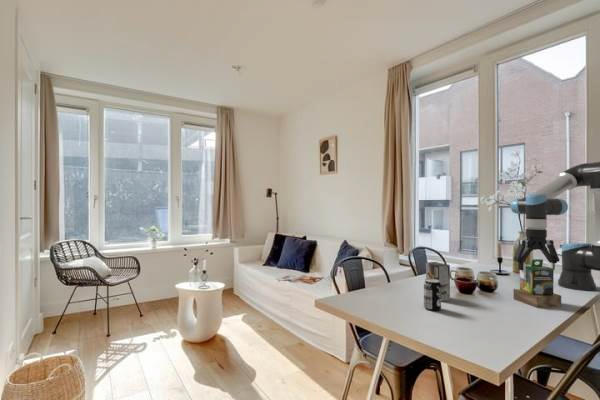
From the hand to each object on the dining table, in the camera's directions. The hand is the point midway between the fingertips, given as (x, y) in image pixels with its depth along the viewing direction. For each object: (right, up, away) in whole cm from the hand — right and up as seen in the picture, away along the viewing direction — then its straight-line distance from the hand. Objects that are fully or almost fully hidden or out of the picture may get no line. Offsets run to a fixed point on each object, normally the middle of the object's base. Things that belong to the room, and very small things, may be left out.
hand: (536, 277), depth 140 cm
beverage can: (-50, -11, -8) cm, 52 cm away
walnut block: (0, -12, 0) cm, 12 cm away
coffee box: (-41, -11, +7) cm, 43 cm away
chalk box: (0, -7, 0) cm, 7 cm away
